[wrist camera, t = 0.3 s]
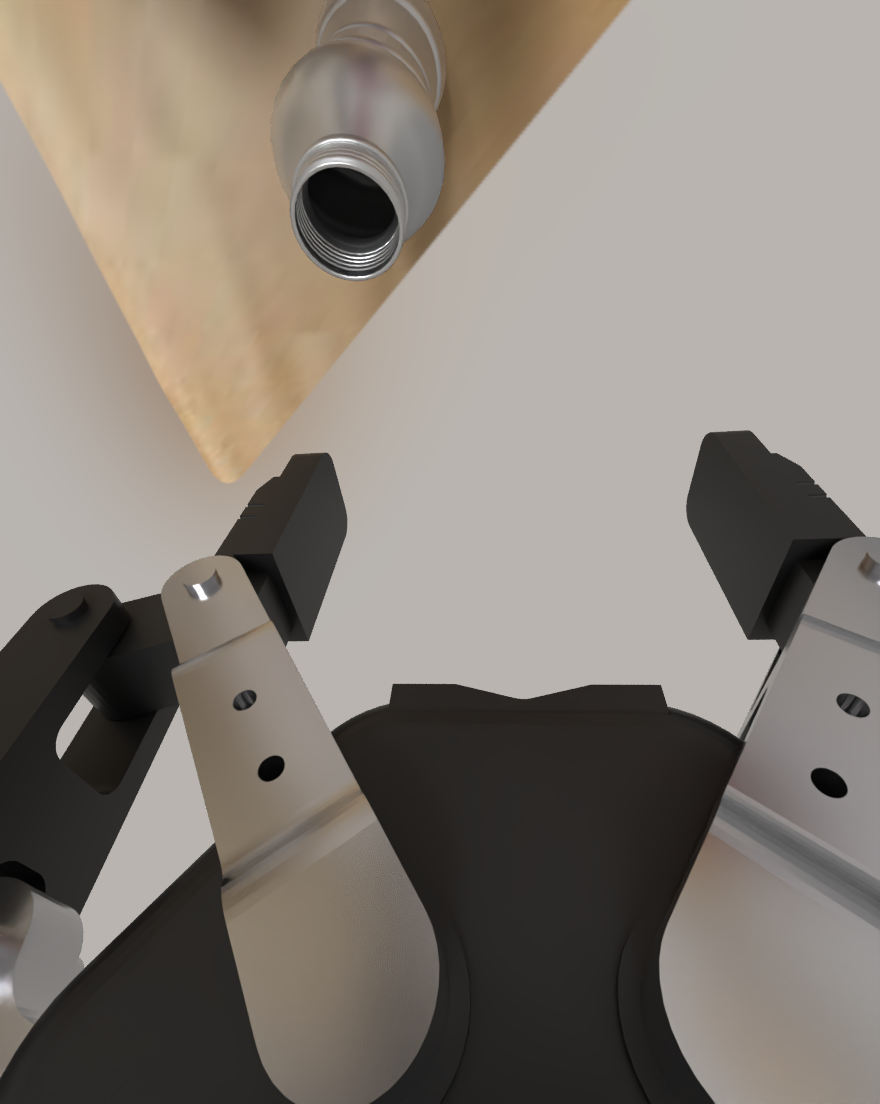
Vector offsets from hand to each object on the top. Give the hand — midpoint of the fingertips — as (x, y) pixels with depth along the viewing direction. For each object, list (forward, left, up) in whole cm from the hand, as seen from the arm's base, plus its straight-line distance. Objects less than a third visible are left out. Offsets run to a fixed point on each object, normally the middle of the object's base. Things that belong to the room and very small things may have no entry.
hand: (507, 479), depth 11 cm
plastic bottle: (-4, -2, -30) cm, 31 cm away
